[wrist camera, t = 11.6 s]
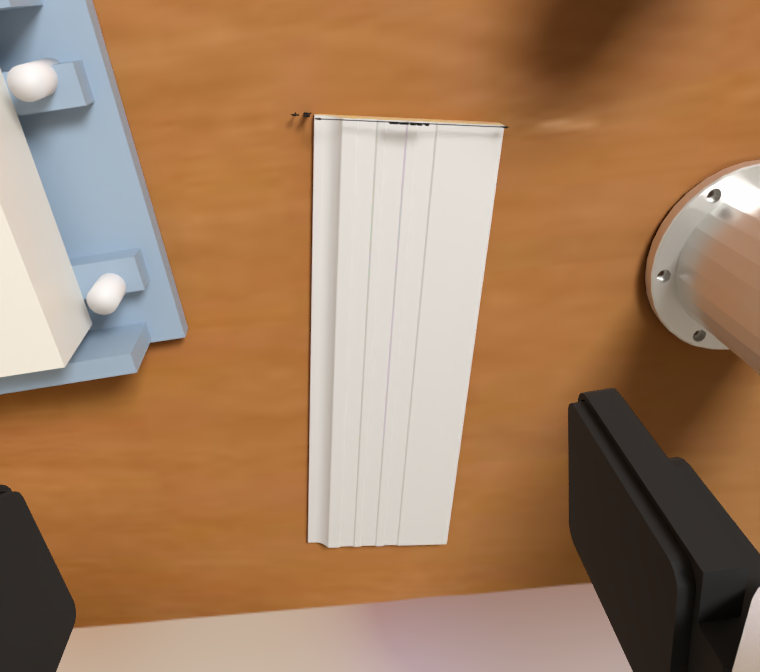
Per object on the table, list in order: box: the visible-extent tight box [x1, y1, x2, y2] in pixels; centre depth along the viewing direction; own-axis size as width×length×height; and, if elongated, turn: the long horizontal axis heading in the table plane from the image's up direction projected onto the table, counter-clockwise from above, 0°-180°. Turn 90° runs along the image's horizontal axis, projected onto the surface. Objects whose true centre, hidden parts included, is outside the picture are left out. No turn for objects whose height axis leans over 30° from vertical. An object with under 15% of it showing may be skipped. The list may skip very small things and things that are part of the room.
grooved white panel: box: [291, 112, 508, 548], centre depth 44 cm, size 31×3×12 cm
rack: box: [0, 0, 188, 394], centre depth 35 cm, size 20×13×5 cm, turn 7°
